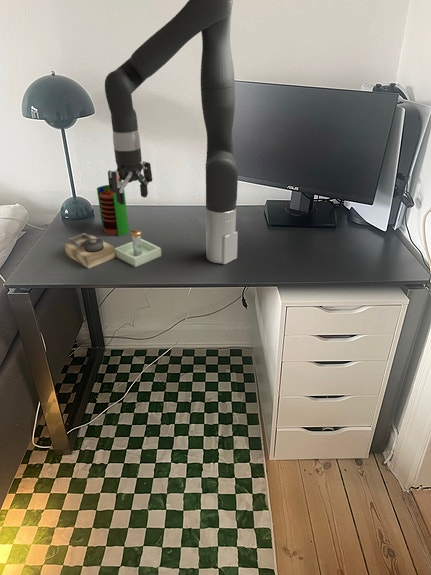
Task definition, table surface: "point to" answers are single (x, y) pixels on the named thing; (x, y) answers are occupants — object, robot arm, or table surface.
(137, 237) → the pin
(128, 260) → the tray
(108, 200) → the motor
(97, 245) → the pulley block
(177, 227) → the table surface
